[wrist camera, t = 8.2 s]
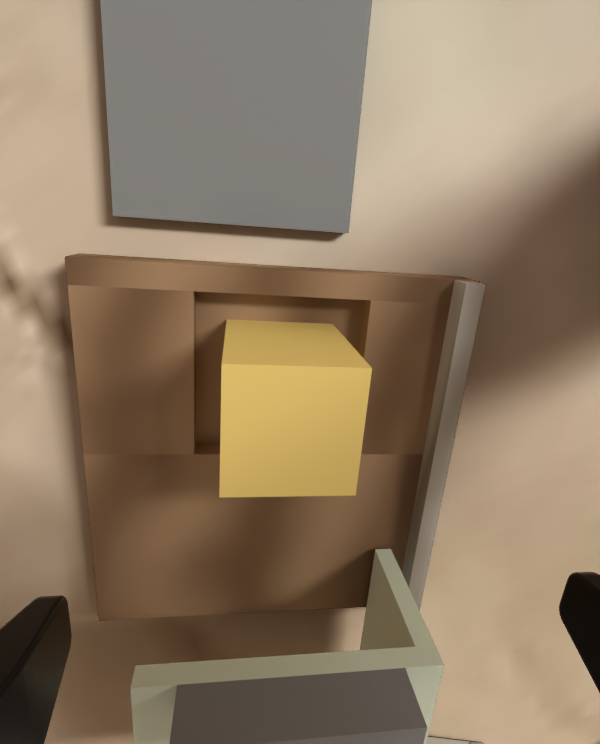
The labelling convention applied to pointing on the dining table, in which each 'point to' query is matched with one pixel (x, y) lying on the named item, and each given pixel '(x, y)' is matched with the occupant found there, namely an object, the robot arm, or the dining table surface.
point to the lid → (304, 686)
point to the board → (203, 421)
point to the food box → (447, 741)
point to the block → (290, 410)
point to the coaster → (235, 109)
